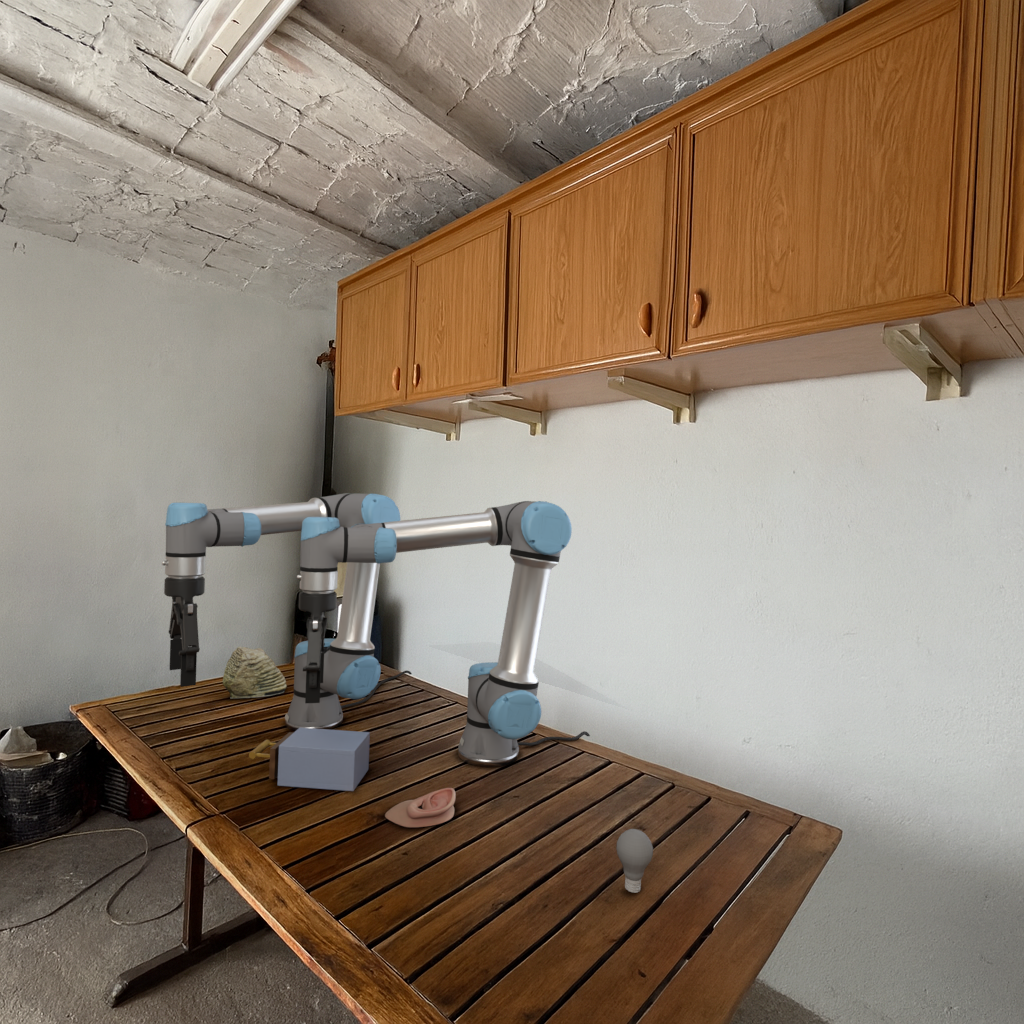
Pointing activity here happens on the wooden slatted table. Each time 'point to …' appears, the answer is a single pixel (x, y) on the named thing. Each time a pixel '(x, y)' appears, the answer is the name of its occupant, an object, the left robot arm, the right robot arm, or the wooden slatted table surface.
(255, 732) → the wooden slatted table surface
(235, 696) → the fossil
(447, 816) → the anatomical model
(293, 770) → the cabinet
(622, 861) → the light bulb
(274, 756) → the drawer
